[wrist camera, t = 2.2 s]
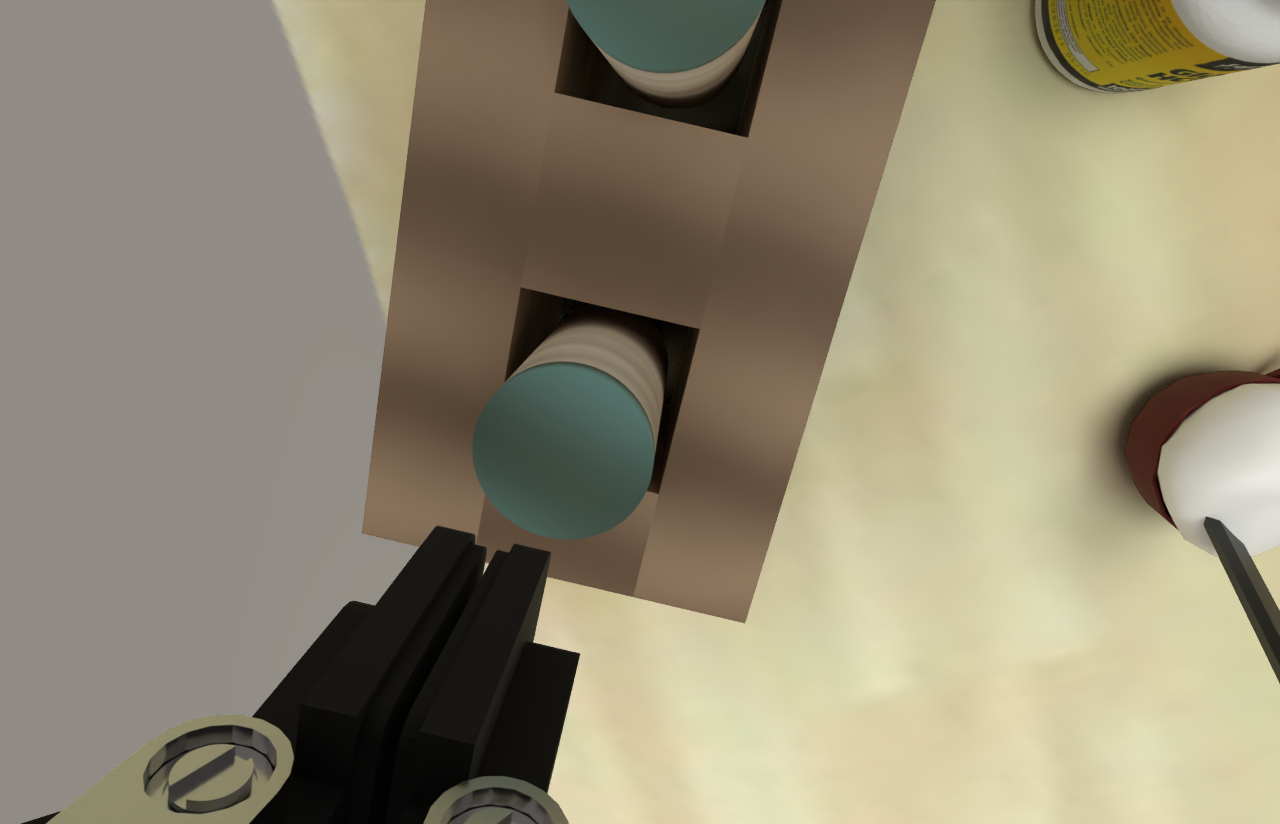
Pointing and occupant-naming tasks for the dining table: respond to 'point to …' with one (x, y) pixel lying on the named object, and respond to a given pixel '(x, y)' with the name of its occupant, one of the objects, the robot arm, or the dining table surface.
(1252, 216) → the dining table surface
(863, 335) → the dining table surface
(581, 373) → the peg
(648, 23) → the peg
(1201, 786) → the dining table surface
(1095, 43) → the pill bottle
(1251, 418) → the cocoa
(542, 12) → the socket block
